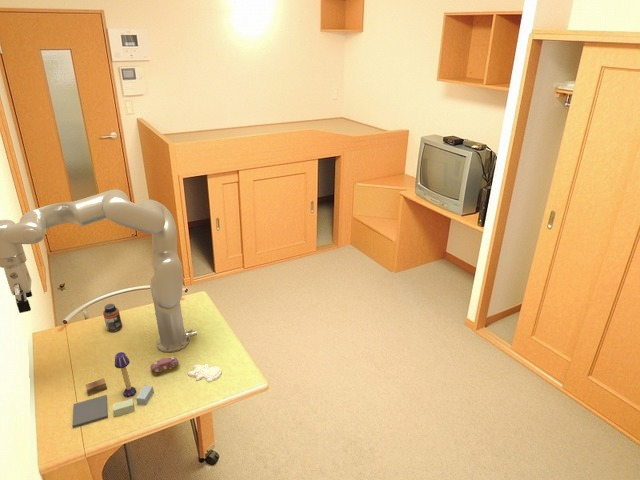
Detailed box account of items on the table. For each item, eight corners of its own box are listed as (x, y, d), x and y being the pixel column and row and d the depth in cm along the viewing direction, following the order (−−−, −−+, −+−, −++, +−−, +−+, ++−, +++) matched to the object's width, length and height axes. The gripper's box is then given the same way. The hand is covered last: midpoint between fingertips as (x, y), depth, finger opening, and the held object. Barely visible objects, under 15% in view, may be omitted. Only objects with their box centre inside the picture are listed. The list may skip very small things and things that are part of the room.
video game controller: (152, 378, 162) (151, 370, 157) (149, 367, 164) (148, 358, 159) (179, 369, 166) (179, 361, 161) (177, 359, 168) (176, 350, 163)
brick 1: (105, 384, 157) (103, 377, 156) (107, 389, 155) (105, 382, 153) (87, 391, 154) (85, 384, 152) (88, 396, 151) (86, 390, 150)
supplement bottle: (112, 323, 189) (107, 301, 185) (125, 325, 189) (120, 302, 184) (104, 332, 184) (98, 309, 179) (117, 333, 183) (112, 310, 179)
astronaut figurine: (197, 363, 168) (197, 357, 166) (226, 370, 164) (225, 363, 163) (184, 378, 160) (183, 372, 159) (213, 386, 157) (213, 379, 156)
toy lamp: (121, 399, 150) (112, 360, 143) (121, 390, 154) (112, 351, 147) (136, 395, 152) (128, 356, 145) (136, 386, 156) (128, 348, 149)
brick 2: (133, 405, 148) (132, 398, 147) (134, 411, 146) (132, 404, 144) (114, 411, 146) (112, 404, 145) (114, 417, 143) (112, 410, 142)
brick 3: (145, 391, 154) (144, 385, 152) (154, 392, 153) (152, 386, 152) (137, 404, 148) (136, 398, 147) (146, 405, 148) (144, 398, 147)
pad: (106, 397, 151) (106, 394, 151) (107, 417, 143) (107, 415, 142) (74, 406, 147) (73, 403, 147) (73, 428, 139) (72, 425, 139)
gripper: (23, 267, 135) (38, 314, 142) (26, 245, 149) (40, 289, 156) (-6, 272, 132) (10, 320, 139) (0, 250, 146) (15, 294, 153)
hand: (26, 304), depth 147 cm, fingers open, 9 cm apart
